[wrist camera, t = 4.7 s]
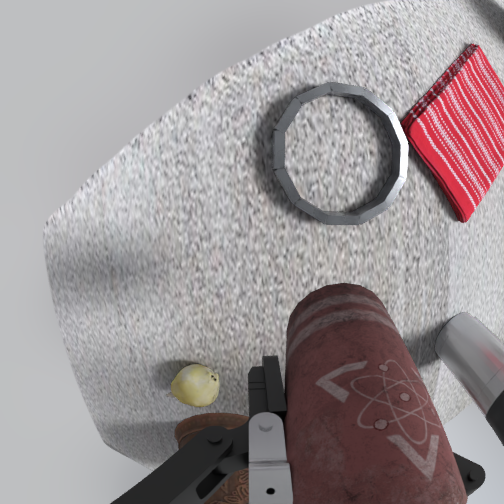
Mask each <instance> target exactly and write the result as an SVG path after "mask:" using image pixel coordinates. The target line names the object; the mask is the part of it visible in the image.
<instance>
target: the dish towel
mask: <svg viewBox="0 0 504 504" xmlns="http://www.w3.org/2000/svg"><path fill="white" fill-rule="evenodd" d="M400 125H401V127H402V130H403V132H404V133H405V135H406V137H407V138H408V140H409V141H410V143H411V144H412V145H413V147H414V149H415V150H416V151H417V153H418V154H419V155H420V157H421V158H422V159H423V161H424V162H425V163H426V165H427V166H428V168H429V169H430V171H431V172H432V174H433V176H434V177H435V179H436V180H437V182H438V184H439V185H440V187H441V189H442V191H443V192H444V194H445V195H446V197H447V199H448V201H449V202H450V204H451V206H452V208H453V210H454V212H455V214H456V216H457V218H458V220H459V221H460V222H462V223H464V222H467V221H468V219H469V218H470V216H471V214H472V213H473V212H474V211H475V209H476V207H477V206H478V204H479V203H480V202H481V200H482V199H483V197H484V196H485V194H486V193H487V191H488V190H489V188H490V187H491V185H492V183H493V181H494V180H495V178H496V177H497V176H498V174H499V172H500V170H501V169H502V167H503V166H504V87H503V85H502V83H501V81H500V80H499V78H498V76H497V75H496V73H495V71H494V70H493V68H492V67H491V65H490V63H489V62H488V60H487V58H486V56H485V55H484V53H483V51H482V49H481V48H480V46H479V45H477V44H476V45H474V44H472V45H470V47H468V48H467V49H466V50H465V51H464V52H463V53H462V54H461V55H460V57H459V58H458V59H457V60H455V61H454V62H453V64H452V65H451V66H450V67H449V68H448V69H447V70H446V72H445V73H444V74H443V75H442V77H440V78H439V79H438V81H437V82H436V83H435V84H434V86H433V87H432V88H431V89H430V90H429V91H428V92H427V93H426V94H425V95H424V97H422V98H421V99H420V100H419V102H418V103H417V104H416V105H415V106H414V108H413V109H412V110H411V111H410V112H409V114H408V115H407V117H406V118H405V119H404V120H403V121H402V122H401V123H400Z"/></svg>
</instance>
